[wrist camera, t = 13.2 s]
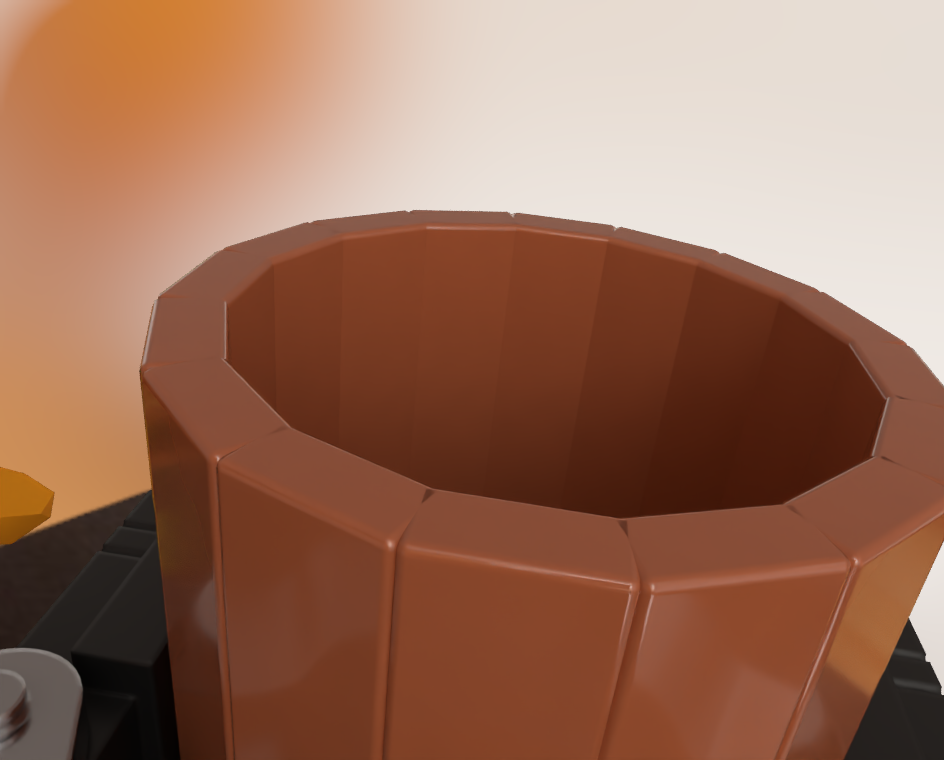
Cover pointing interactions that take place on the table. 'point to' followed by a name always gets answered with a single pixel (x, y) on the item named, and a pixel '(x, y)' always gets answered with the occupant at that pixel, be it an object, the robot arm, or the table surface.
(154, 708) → the robot arm
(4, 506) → the toy figure
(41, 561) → the table surface
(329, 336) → the pot
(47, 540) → the table surface
